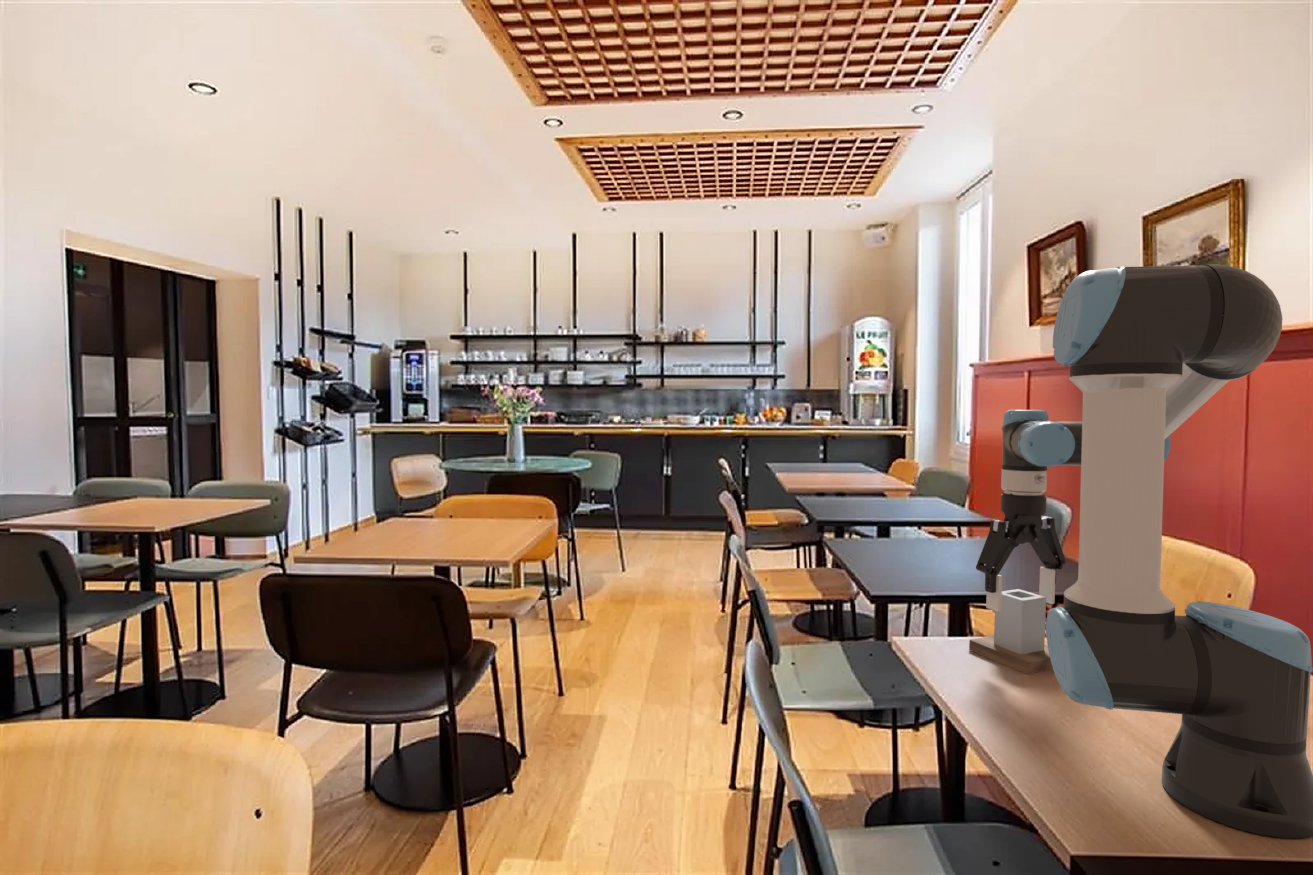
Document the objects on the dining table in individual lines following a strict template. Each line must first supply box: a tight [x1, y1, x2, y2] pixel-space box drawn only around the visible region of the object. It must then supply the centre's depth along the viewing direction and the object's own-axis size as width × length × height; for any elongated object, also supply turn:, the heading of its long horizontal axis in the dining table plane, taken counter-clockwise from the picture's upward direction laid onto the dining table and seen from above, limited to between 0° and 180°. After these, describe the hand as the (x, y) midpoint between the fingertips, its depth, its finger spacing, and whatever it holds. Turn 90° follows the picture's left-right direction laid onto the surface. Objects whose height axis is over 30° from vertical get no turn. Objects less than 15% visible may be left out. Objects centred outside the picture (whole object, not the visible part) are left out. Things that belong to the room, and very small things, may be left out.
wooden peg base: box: [968, 635, 1053, 675], centre depth 134 cm, size 11×13×6 cm
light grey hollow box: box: [993, 588, 1047, 654], centre depth 134 cm, size 6×6×10 cm
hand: (1020, 606), depth 133 cm, fingers open, 13 cm apart
